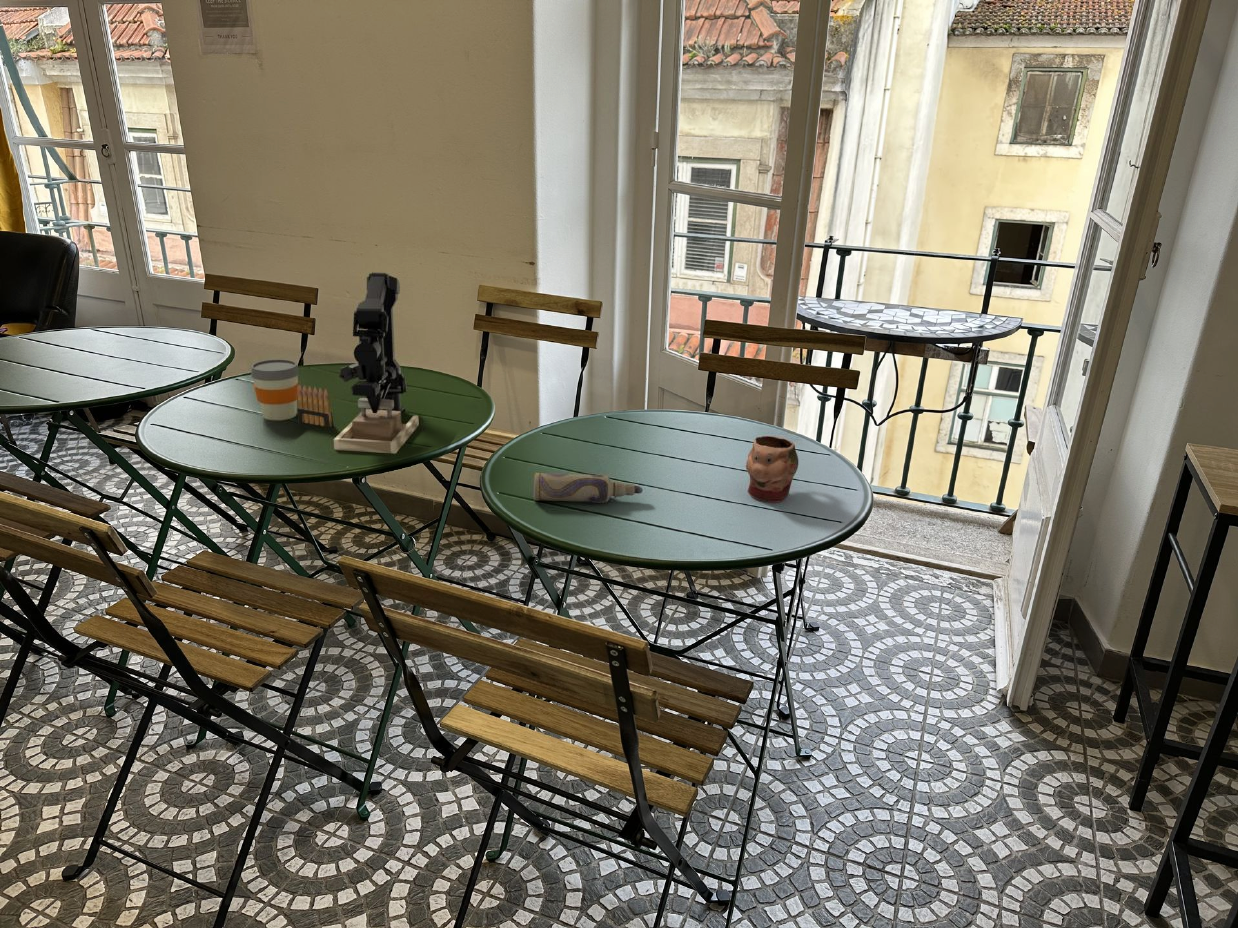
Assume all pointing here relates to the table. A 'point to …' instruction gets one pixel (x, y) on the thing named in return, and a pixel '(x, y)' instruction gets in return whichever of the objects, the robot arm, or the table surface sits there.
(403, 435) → the bay
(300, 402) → the ammunition clip
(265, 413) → the reusable coffee cup
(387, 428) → the panel with bar handle
